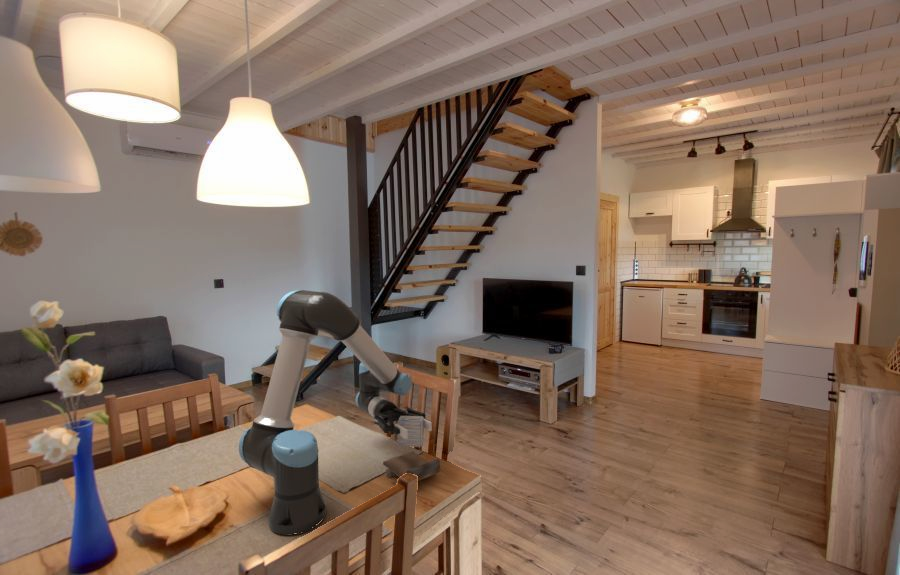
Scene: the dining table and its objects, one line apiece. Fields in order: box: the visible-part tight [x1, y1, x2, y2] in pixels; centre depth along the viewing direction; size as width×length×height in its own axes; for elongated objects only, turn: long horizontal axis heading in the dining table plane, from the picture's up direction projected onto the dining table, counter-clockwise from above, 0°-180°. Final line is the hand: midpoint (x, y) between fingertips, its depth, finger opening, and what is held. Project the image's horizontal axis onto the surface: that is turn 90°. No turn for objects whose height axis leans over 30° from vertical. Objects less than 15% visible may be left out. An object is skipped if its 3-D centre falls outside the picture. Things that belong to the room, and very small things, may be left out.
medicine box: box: [397, 416, 425, 448], centre depth 138 cm, size 8×4×9 cm, turn 85°
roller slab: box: [382, 451, 441, 482], centre depth 141 cm, size 13×16×6 cm
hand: (419, 430), depth 134 cm, fingers closed on medicine box, 8 cm apart
